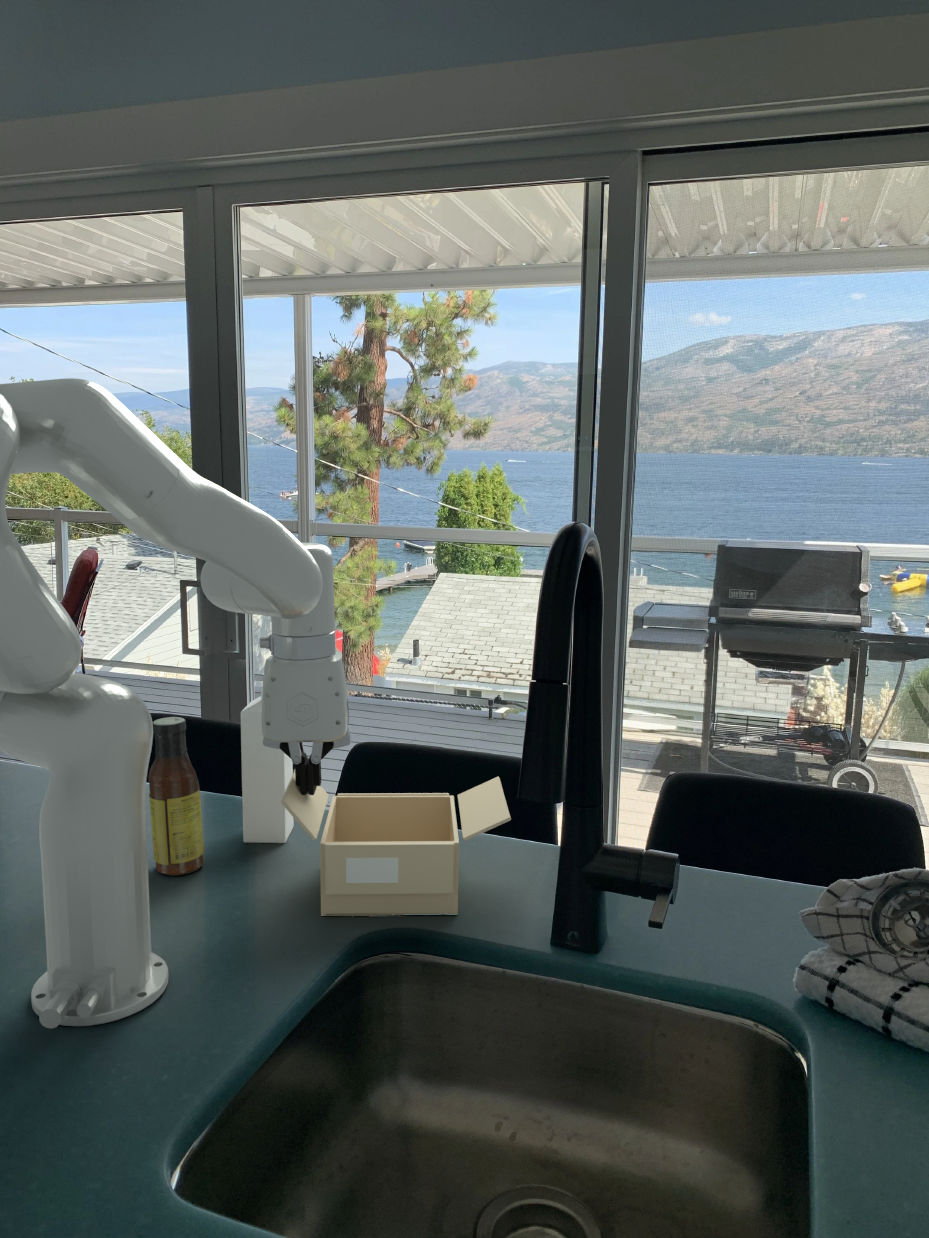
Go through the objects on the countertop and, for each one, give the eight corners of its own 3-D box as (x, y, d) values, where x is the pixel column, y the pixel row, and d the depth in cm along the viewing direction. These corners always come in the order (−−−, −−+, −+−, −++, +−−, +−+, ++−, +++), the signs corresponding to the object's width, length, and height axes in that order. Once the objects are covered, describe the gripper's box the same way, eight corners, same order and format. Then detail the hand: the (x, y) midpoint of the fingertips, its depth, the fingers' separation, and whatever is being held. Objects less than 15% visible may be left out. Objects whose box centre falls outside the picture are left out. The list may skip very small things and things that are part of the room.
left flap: (328, 795, 119) (326, 797, 119) (299, 760, 119) (297, 762, 119) (316, 839, 105) (313, 841, 105) (283, 800, 104) (280, 802, 104)
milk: (243, 843, 127) (238, 689, 123) (253, 826, 133) (249, 679, 129) (286, 843, 127) (282, 690, 123) (294, 827, 133) (291, 680, 129)
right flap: (463, 838, 106) (464, 841, 106) (509, 817, 106) (511, 819, 106) (457, 794, 120) (458, 797, 120) (498, 776, 120) (499, 778, 120)
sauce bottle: (211, 859, 121) (207, 714, 118) (193, 879, 115) (188, 727, 112) (164, 856, 122) (158, 712, 119) (143, 876, 116) (137, 725, 113)
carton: (458, 918, 106) (459, 844, 104) (320, 920, 105) (319, 845, 104) (452, 857, 123) (453, 793, 122) (333, 858, 122) (333, 793, 121)
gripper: (234, 653, 105) (241, 803, 108) (363, 652, 105) (367, 801, 109) (247, 640, 112) (254, 781, 116) (368, 639, 113) (371, 780, 116)
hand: (308, 790), depth 112 cm, fingers closed
